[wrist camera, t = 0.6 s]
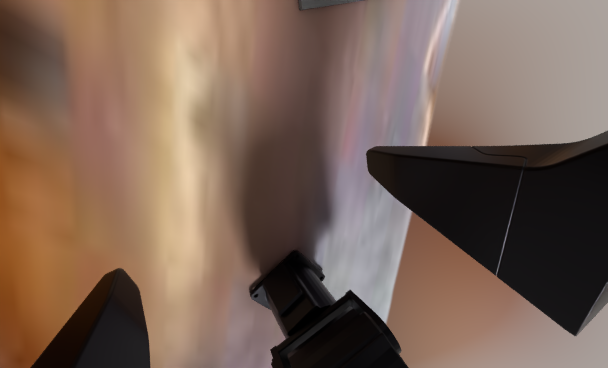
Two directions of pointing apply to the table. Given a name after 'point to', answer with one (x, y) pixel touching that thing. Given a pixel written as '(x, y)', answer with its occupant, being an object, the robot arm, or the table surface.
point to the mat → (321, 3)
